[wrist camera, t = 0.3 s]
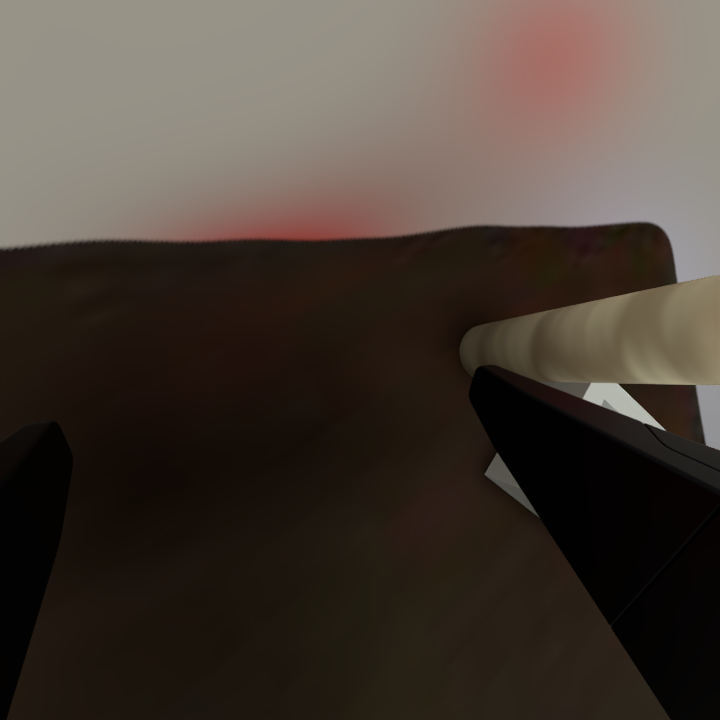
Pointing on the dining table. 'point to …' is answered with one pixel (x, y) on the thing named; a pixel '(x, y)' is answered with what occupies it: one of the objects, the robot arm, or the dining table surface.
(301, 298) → the dining table surface
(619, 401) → the end cap
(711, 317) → the dowel
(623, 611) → the robot arm
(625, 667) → the dining table surface
